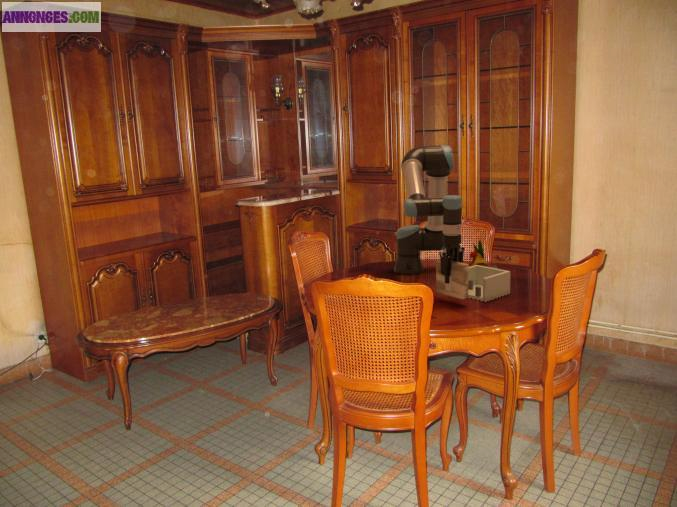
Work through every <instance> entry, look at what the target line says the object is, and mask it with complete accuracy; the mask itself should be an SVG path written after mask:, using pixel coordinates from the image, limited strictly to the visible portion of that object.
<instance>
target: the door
mask: <svg viewBox="0 0 677 507" xmlns="http://www.w3.org/2000/svg"><path fill="white" fill-rule="evenodd" d="M435 261H436V262H435V266H436V267H435V277H436V278H435V279H436V280H435V284H436V286H435V293H438V294H441V295H445V296H448V297H453V298H456V299H460V300H465V299H469V298H468V267H469V264H468V263H464V262H463V263H460V262H455V261H452V265H451V273H450V275H451V276H452V291H447V290H445V275H442V274H441V263H440V258H439V259H436V260H435ZM447 273H448V272H447Z"/></svg>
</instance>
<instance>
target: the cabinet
mask: <svg viewBox="0 0 677 507" xmlns="http://www.w3.org/2000/svg"><path fill="white" fill-rule="evenodd" d="M507 294H508V295H510V294H511V271H510V270H505V269H500V268H498V269H496V268H491V267H490V266H488V267H485V266H480V265H474V266H471V267H470V266H468V298H467V299H471V298H472V299H471V300H475V299H476V300H475V301H479V300H480V301H479V302H483V301H484V303H487V301H488V302H490V300H491V301H493V300H496V299H499V298H501V296H502V297H504V295H505V296H508V295H507ZM498 297H499V298H498ZM495 298H496V299H495Z"/></svg>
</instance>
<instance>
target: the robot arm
mask: <svg viewBox="0 0 677 507" xmlns="http://www.w3.org/2000/svg"><path fill="white" fill-rule="evenodd" d="M453 152H454V151H453V149H452V147H451V146H450V145H442V144H440V145H424V146H421V145H420V146H416V147H413V148H411V149H409V151H407V152H406V153H405V155H404V156H403V157H402V160H401V164H400V168H401V172H402V174H403V175H404V181H405V182H404V183H405V189H406V190H405V191H406V195H407V196H406V197H407V198H405V199H404V202H403V211H404V216H405V217H407V218H420V217H421V218H422V217H427V221H426V222H425V223H424V227H421V226H420V225H418V224H415V225H414V224H410V225H404V226H402V227H399V228H398V229H397V230H396V253H397V254H396V260H395V264H394V266H393V273H395V272H396V273H395V274H397V273H401V274H400V275H403V274H414V275H419V274H418V273H420V274H422V273H424V271H425V267H424V265H423V261H422V258H421V252H432V251H435V252H436V251H438V252H439V253H438V254H439V257H440V258H439V259H440V263H441V274H442V275H445V290H447V291H452V276H451V275H450V273H451V265H452V261H455V262H460V263H464V253H465V247H464V246H461V244H462V238H463V237H462V236H463V235H462V223H463V222H462V218H463V216H462V212H463V211H462V209H463V208H462V207H463V202H462V201H463V200H462V196H460V195H457V194H453V195H452V194H451V195H449V194H448V195H447V189H448V188H447V183H448V177H449V176H450V175H451V171H454V170H455V160H454V153H453ZM422 172H425V175H426V176H427V177H428V197H427V198H426V193H425V188H424V186H425V185H424V181H423V176H422ZM447 272H448V273H447Z"/></svg>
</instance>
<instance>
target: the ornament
mask: <svg viewBox="0 0 677 507" xmlns="http://www.w3.org/2000/svg"><path fill="white" fill-rule="evenodd" d="M477 243H478V244H477V245H476V244H475V243H474V242H473V243H472V244H473V249H474V250H473V251H470V253H469V264H468V266H469V267H471V266H474V265H480V266H485V267H489V264H488V263H487V260H485V253H484V247H483V243H482V240H481V239H479V240H478V241H477Z"/></svg>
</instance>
